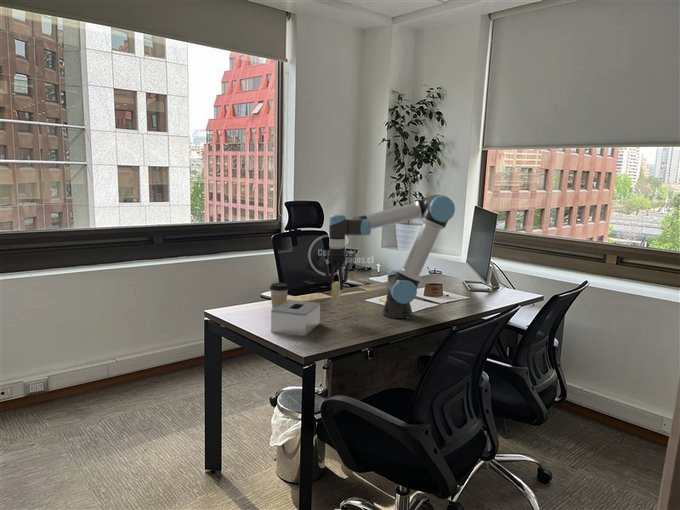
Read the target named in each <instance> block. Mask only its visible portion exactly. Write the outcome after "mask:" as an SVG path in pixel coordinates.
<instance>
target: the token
mask: <svg viewBox="0 0 680 510" xmlns="http://www.w3.org/2000/svg"><path fill="white" fill-rule="evenodd" d="M333 282H334V283H333V284H332V289H331V299H336V300H338V298H340V297H338V283H340V281H333Z"/></svg>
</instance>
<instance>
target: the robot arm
mask: <svg viewBox="0 0 680 510" xmlns="http://www.w3.org/2000/svg"><path fill="white" fill-rule="evenodd" d="M455 211H456V206H455V203H454V201H453V200H452V199H451V198H450V197H448V196H446V195H442V194H433V195H430V196H427V197H424V198H422V199H418V200H417V199H416V201H415V202H414V203H409V204H406V205H405V204H404V205H402V206H397V207H394V208H390V209H389V208H388V209H386V210H385V209H384V210H381V211H377V212H373V213H372V212H371V213H368V214H365V215H360V216H353V217H352V218H351V219H349V218H347V217H346V215H345V214H332V215H330V216H329V225H328V226H329V228H328V229H329V230H328V231H329V234H328V235H329V237H328V238H329V243H328V245H329V248H328V257H327V259H325V260H323V261H322V263H323V266H324V273H325V281H326V282H328V283H329V289H330V290H332V284H333V283H334V282H335V281H334V279H335V271H336V268H337V269H338V277H339V282H340V283H338V297H339V298H340V297H341V296H342V291H343V290H344V283H347V281H348V279H349V278H348V277H349V270H350V265H351V261H348V260H347V259H346V248H345V247H346V236H363V237H364V236H370V235H371V233H372V230H373V229H377V228H381V227H386V226H390V225H391V226H392V225H395V224H400V223H404V222H407V221H412V220H416V219H419V220H422V225H421V227H420V229H419V232H418V234H417V236H416V238H415V240H414V242H413V245H412V247H411V249H410V251H409V254H408V256H407V258H406V260H405V262H404V265H403V267H402V268H400V269H398V270H389V271H388V272H387V283H386V285H387V286H386V300H385V302H384V305H383V308H382V313H381V314H382V316H384V315H385V316H384V317H386V316H387V317H386V318H389V317H393V318H392V319H395V318H406V319H408V318H407V317H410V316H413V311H412V310H413V309H412V306H411V302H412V301H414V300H415V299H416V296H417V293H418V287H419V285H420V283H421V278H420V275H421V273H422V271H423V268H424V266H425V264H426V262H427V259H428V258H429V256H430V253H431V251H432V248H433V247H434V244H435V243H436V240H437V238H438V236H439V234H440V232H441V230H443V229H445V228H446V226H447V224H448V222H449V221H450V220H452V218H453V216H454V215H455ZM329 264H330V265H331V266H330V268H329ZM343 265H345V267H344V268H345V269H344V272H343ZM330 269H331V270H330ZM410 318H411V317H410Z"/></svg>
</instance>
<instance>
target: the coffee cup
mask: <svg viewBox="0 0 680 510" xmlns="http://www.w3.org/2000/svg"><path fill="white" fill-rule="evenodd" d="M289 289H290V288H289V286H288V284H287V283H284V282H276V283H275V282H274V283H271V285H270V286H269V290H270V298H271V299H270V300H271V305H272V307H271V308H272V309H274V308H275V307H277V306H279V305H280V304H282V303H284V302H285V301H287V300H288V291H289ZM272 309H271V310H272Z"/></svg>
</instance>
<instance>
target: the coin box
mask: <svg viewBox="0 0 680 510" xmlns="http://www.w3.org/2000/svg"><path fill="white" fill-rule="evenodd" d="M270 312H271V313H270V314H271V316H270V317H271V318H270V319H271V320H270V332H271V333H277V334H283V335H291V336H292V335H293V336H300V337H306V336H308V334H310V333H311V332H312V331H313V330H314V329H316V328H317V326H319V325H320V324H321V323H320V321H321V320H320V319H321V317H320V316H321V302H313V301H304V300H303V301H302V300H293V299H287V301H285V302H284V303H282V304H280V305H279V306H277V307H275V308H274V309H271V310H270Z"/></svg>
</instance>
